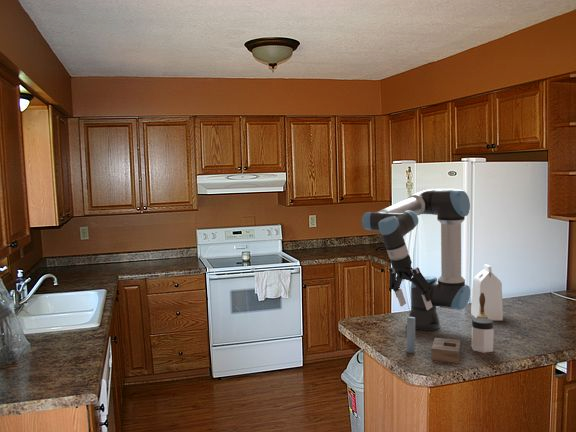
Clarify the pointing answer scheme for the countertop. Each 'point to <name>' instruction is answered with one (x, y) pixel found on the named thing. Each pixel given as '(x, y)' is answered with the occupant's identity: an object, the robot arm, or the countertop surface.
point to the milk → (487, 294)
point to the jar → (482, 335)
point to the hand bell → (482, 306)
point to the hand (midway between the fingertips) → (416, 306)
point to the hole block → (446, 350)
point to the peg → (411, 334)
